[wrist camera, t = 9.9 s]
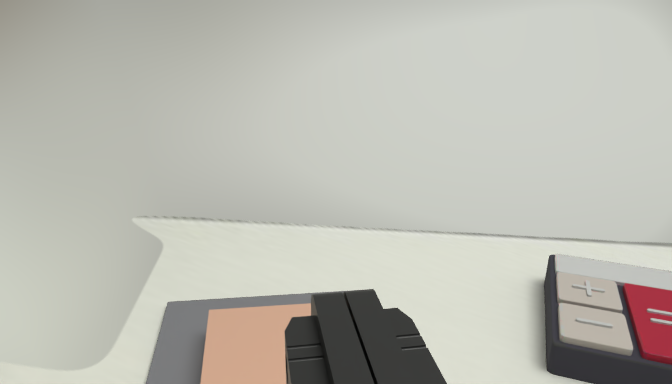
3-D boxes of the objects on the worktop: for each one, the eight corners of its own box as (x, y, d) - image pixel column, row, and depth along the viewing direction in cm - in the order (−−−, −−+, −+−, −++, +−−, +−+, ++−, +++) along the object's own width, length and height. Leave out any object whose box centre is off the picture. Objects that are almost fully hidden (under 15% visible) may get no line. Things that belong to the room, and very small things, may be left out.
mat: (448, 468, 30) (449, 461, 29) (115, 509, 26) (114, 501, 26) (368, 294, 48) (368, 289, 48) (168, 307, 45) (167, 301, 45)
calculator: (553, 335, 37) (550, 246, 50) (544, 383, 38) (543, 285, 52) (737, 372, 33) (681, 265, 46) (719, 424, 35) (670, 306, 48)
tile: (387, 447, 27) (338, 301, 41) (190, 470, 25) (209, 309, 39) (385, 484, 28) (337, 328, 42) (193, 509, 26) (210, 338, 40)
